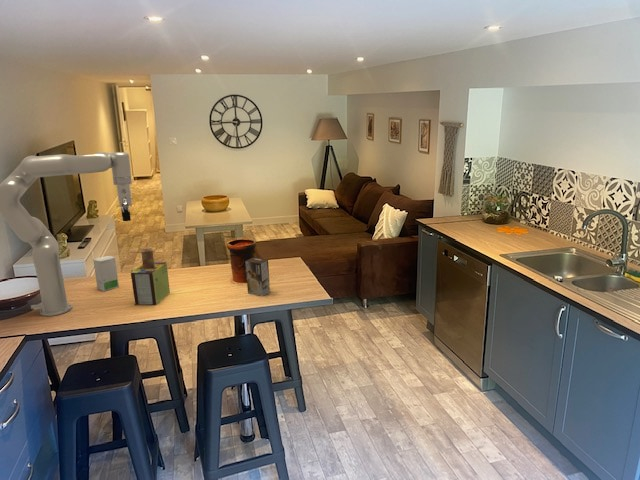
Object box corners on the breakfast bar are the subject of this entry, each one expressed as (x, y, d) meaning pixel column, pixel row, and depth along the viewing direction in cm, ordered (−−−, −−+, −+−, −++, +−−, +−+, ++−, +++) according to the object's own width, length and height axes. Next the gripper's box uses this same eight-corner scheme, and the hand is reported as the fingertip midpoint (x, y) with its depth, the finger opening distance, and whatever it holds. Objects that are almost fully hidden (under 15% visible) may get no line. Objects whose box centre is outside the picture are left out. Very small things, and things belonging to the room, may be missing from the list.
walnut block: (144, 269, 215) (141, 252, 213) (143, 266, 219) (140, 249, 217) (154, 267, 217) (152, 250, 215) (153, 264, 221) (151, 248, 218)
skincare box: (103, 292, 231) (99, 261, 227) (96, 289, 235) (91, 259, 231) (119, 286, 238) (115, 256, 233) (112, 284, 241) (108, 254, 237)
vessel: (225, 277, 247) (223, 240, 242) (252, 273, 253) (250, 237, 248) (232, 286, 235) (230, 247, 229) (260, 282, 241) (259, 243, 235)
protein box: (170, 292, 229) (166, 261, 225) (156, 305, 214) (152, 272, 210) (149, 292, 230) (145, 261, 226) (134, 304, 215) (129, 272, 211)
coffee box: (270, 291, 227) (269, 259, 222) (263, 296, 221) (261, 263, 217) (254, 288, 231) (252, 257, 227) (246, 293, 226) (244, 261, 221)
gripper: (132, 182, 204) (136, 221, 208) (130, 177, 219) (134, 214, 224) (113, 183, 201) (117, 223, 205) (112, 178, 216) (116, 215, 221)
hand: (126, 218), depth 215 cm, fingers open, 9 cm apart
